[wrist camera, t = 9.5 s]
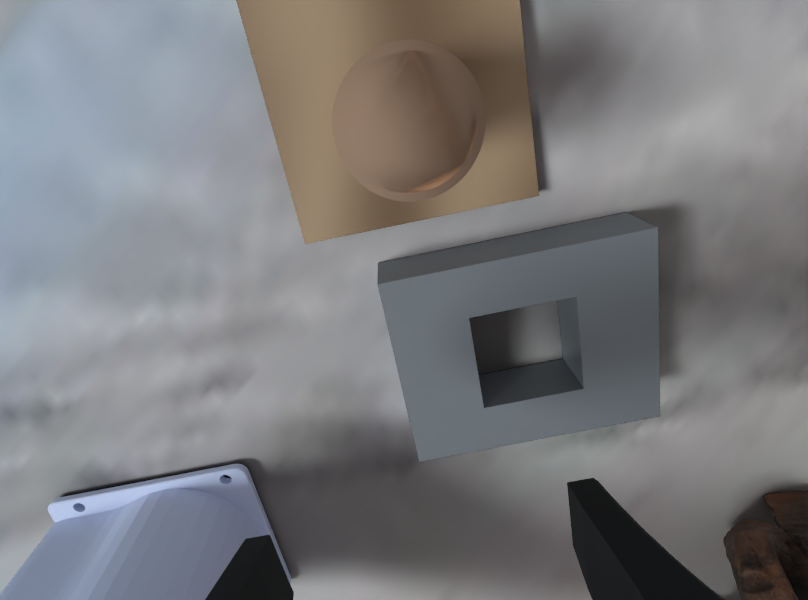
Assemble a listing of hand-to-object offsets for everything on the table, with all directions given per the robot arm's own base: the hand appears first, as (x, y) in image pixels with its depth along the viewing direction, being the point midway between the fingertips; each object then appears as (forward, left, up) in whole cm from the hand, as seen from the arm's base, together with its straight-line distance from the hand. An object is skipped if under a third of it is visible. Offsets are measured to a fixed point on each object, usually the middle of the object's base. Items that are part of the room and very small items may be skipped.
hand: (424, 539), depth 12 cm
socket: (+5, 0, -10) cm, 11 cm away
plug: (+2, +9, -10) cm, 13 cm away
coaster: (+2, +10, -10) cm, 14 cm away
